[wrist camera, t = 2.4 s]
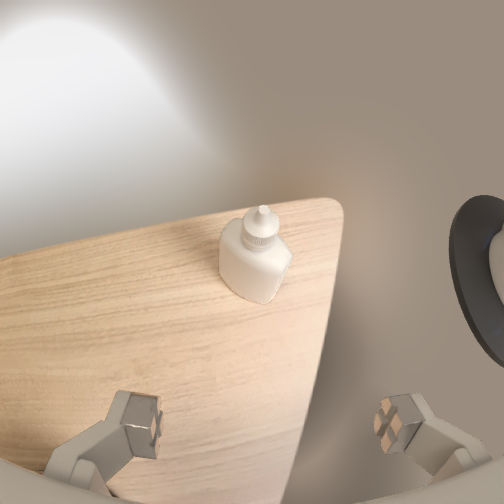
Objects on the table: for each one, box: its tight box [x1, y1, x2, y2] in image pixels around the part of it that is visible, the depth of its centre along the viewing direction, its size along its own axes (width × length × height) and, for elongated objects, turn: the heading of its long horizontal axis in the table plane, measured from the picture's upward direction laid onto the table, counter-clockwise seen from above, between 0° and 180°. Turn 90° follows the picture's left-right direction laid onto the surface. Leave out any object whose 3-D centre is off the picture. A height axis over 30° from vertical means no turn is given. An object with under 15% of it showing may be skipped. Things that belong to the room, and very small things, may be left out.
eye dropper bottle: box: [219, 205, 292, 304], centre depth 25 cm, size 4×6×12 cm
